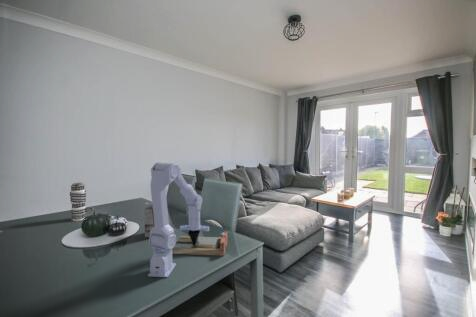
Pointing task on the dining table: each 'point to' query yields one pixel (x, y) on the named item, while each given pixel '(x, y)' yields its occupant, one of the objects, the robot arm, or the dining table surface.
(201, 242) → the lock block
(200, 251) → the coupler track
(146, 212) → the coffee box
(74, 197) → the decorative candle
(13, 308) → the dining table surface
